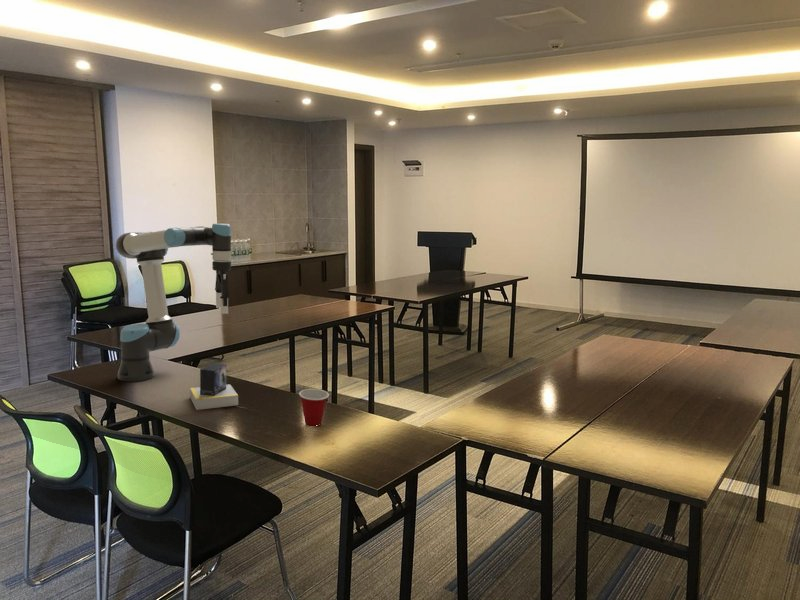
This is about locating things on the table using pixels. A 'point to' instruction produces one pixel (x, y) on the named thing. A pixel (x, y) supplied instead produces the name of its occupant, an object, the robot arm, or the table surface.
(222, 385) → the small box
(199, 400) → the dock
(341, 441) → the table surface
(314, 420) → the plastic cup
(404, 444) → the table surface
